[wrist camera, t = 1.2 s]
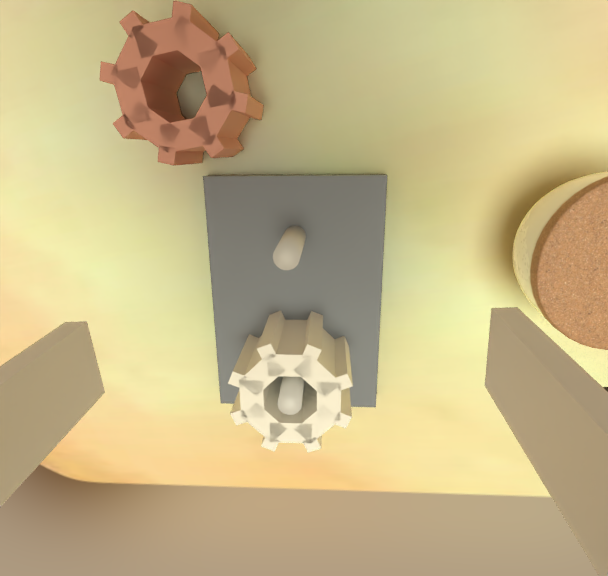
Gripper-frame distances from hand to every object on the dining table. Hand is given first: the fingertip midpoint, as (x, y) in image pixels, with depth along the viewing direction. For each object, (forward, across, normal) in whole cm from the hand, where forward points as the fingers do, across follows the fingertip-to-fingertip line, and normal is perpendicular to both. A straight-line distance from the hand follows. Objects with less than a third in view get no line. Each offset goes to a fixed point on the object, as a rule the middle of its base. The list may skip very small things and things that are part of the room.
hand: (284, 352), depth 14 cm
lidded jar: (+20, +19, -2) cm, 28 cm away
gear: (+20, -7, +10) cm, 23 cm away
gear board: (+20, -2, -5) cm, 20 cm away
